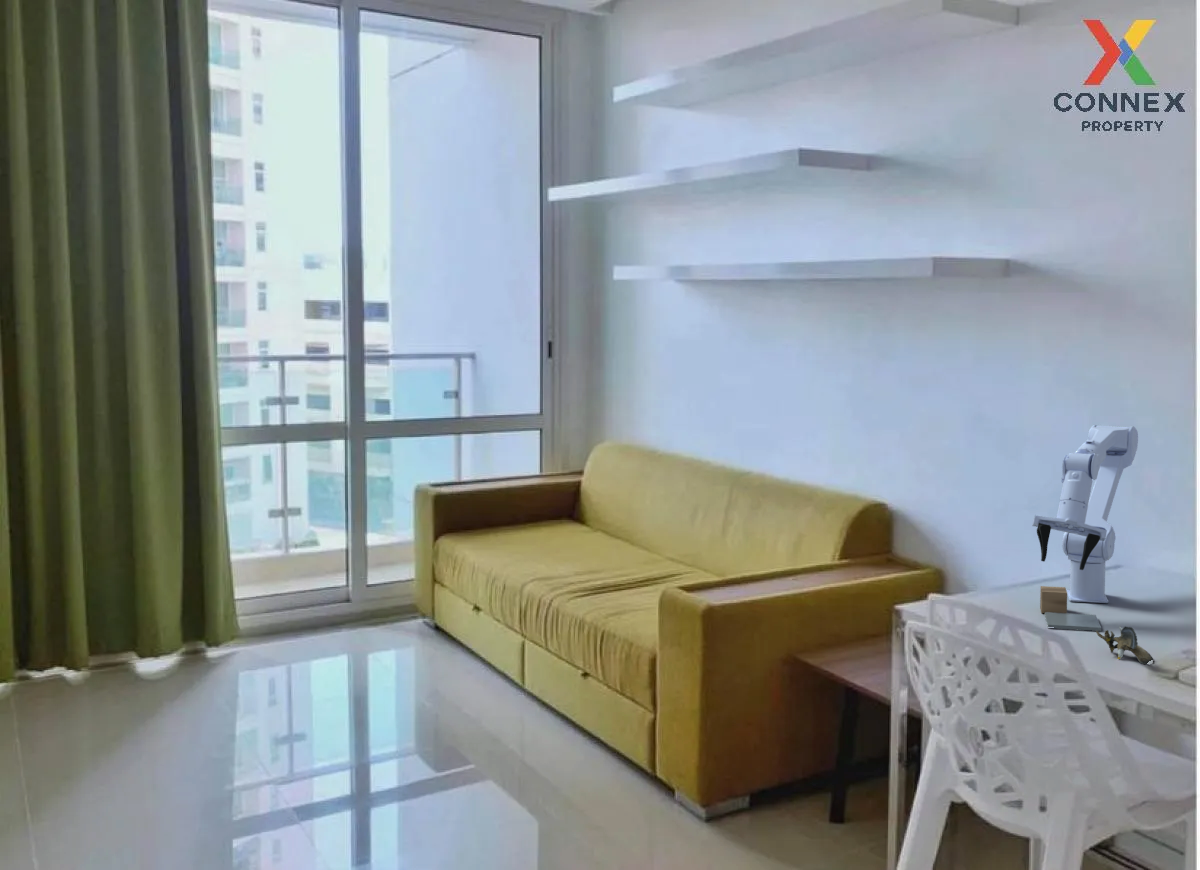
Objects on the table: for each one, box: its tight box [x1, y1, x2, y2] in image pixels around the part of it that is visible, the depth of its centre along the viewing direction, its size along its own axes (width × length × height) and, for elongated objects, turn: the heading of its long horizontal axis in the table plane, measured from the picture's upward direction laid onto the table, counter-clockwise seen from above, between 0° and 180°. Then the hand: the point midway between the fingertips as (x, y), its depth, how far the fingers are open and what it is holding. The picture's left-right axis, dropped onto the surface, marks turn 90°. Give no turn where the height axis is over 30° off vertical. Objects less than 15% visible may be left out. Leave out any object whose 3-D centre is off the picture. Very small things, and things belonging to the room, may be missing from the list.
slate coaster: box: [1044, 612, 1102, 632], centre depth 228 cm, size 10×10×1 cm
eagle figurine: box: [1095, 625, 1155, 665], centre depth 204 cm, size 8×7×9 cm
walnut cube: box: [1039, 585, 1068, 615], centre depth 237 cm, size 5×5×5 cm
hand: (1062, 564), depth 232 cm, fingers open, 7 cm apart
